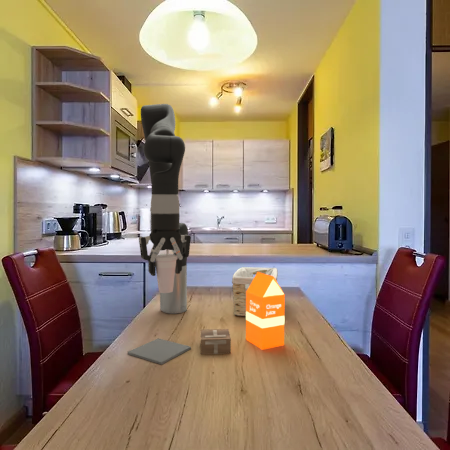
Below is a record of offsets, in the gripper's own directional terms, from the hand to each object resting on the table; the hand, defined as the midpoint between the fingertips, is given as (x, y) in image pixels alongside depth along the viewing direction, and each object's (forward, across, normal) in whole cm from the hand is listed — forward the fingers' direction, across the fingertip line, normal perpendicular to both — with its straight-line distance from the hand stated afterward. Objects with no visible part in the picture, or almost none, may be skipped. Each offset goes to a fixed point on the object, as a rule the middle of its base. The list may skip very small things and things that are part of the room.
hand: (165, 274), depth 97 cm
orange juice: (+22, +28, -7) cm, 36 cm away
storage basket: (+22, +44, +24) cm, 55 cm away
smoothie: (+5, 0, 0) cm, 5 cm away
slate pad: (+21, -2, 0) cm, 21 cm away
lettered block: (+21, +13, -4) cm, 25 cm away
